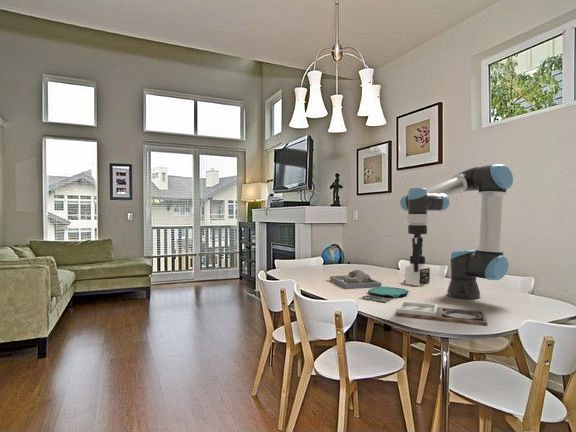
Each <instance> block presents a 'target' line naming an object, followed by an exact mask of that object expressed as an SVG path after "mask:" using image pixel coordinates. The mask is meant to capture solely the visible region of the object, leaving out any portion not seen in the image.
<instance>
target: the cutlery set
mask: <svg viewBox="0 0 576 432" xmlns="http://www.w3.org/2000/svg"><path fill="white" fill-rule="evenodd" d="M409 292H410V291H409V290H408V289H406V288H400V287H393V286H392V287H391V286H381V287H372V288H370V289H368V290H367V293H369V294H370V295H364V296H363V295H362V296H361V297H362V298H361V297H359V298H358V299H359V300H364V301H372V302H376V303H385V304H386V303H387V302H390V300H391V301H393V299H397V298H398V297H401V296H404V295H408V294H409ZM374 295H375V296H374ZM386 297H387V298H386ZM388 297H391V298H388ZM392 297H393V298H392Z"/></svg>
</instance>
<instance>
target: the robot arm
mask: <svg viewBox="0 0 576 432" xmlns="http://www.w3.org/2000/svg"><path fill="white" fill-rule="evenodd" d="M513 181H514V176H513V173H512V171H511V169H510V168H509V167H508V166H507V165H506V164H504V163H503V164H491V165H490V164H489V165H483V166H475V167H471V168H468V169H465V170H463V171H460V172H458V173H456V174H454V175H453V176H451V178H450V179H447V180H444V181H441V182H440V183H437V184H435V185H433V186H430V187H428V188H426V187H413V188H409V189H408V191H407V192H408V194H405V195H403V196H402V197H401V199H400V201H399V203H400V207H401V209H402V210H403V211H406V212H408V213H407V214H408V216H407V217H406V219H407V220H408V221H407V224H409V225H408V226H407V231H408V232H407V233H408V234H409V235H413V238H412V239H411V242H412V255H413V256H412V255H411V256H412V262H411V264H413V280H420V264H419V263H420V262H419V259H420V255H421V256H423V242H424V240H423V237H422V235H427V233H428V225H427V224H428V212H429V211H431V212H432V211H439V212H442V211H445V210H447V209H448V207H449V206H450V199H449V197H450V196H453V195H455V194H462V193H465V192H470V191H471V192H473V191H478V195H480V196H481V204H480V205H481V206H480V207H481V208H480V222H479V223H480V226H479V241H478V242H479V245H478V247H477V248H476V249H467V250H465V249H463V250H453V251H452V252H451V253H450V281H449V285H448V288H447V289H446V290H447V291H446V292H447V293H446V294H447V296H448V297H451V298H458V299H465V300H472V299H473V300H476V299H479V298H481V291H480V288H479V285H478V282H477V278H478V279H483V280H488V281H500V280H502V279H503V278H504V277H505V276H506V275H507V273H508V271H509V267H510V266H509V261H508V258H507V257H506V256H505V255H504V251H503V250H502V249H501V248H500V247H501V229H502V212H503V211H502V210H503V209H502V208H503V197H504V196H505V195H506V194H507V190H509V189H510V188H511V187H512V186H513V183H514V182H513Z"/></svg>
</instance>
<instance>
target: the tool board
mask: <svg viewBox="0 0 576 432" xmlns="http://www.w3.org/2000/svg"><path fill="white" fill-rule="evenodd" d="M453 313H454V314H455V313H456V314H457V313H458V314H465V313H468V314H467V315H471V314H472V315H471V316H474V315H475V316H474V318H464V317H455V316H453V315H452V316H451V315H449V314H453ZM395 314H396V317H403V318H404V317H405V318H413V319H421V320H431V319H432V321H440V322H451V323H459V322H460V323H463V324H469V323H470V324H471V325H480V326H488V320H487V316H486V312H485V310H477V309H465V308H464V309H463V308H452V307H443V306H441V307H440V306H439V305H438V303H429V302H428V303H427V302H426V303H425V302H419V301H417V302H415V301H405V300H404V301H403V300H402V301H401V302H399V305H398V306H397V308H396V313H395ZM477 316H478V317H477ZM460 323H459V324H460Z"/></svg>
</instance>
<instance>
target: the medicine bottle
mask: <svg viewBox="0 0 576 432" xmlns="http://www.w3.org/2000/svg"><path fill="white" fill-rule="evenodd" d="M412 256H413V254H412V255H411V256H410V255H409V266H405V267H404V268H405V271H404V272H405V274H406V277H405V280H406V284H412V285H417V286H416V287H423V286H422V285H424V286H425V285H427V286H428V285H430V282H431V281H430V279H431V278H430V275H431V273H430V272H431V271H430V270H431V269H430V268H431V267H429V266H426V257H425V256H423V255H422V256H421V255H420V259H419V262H420V263H419V264H420V280H413V264H411V262H412ZM406 284H405V285H406Z"/></svg>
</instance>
